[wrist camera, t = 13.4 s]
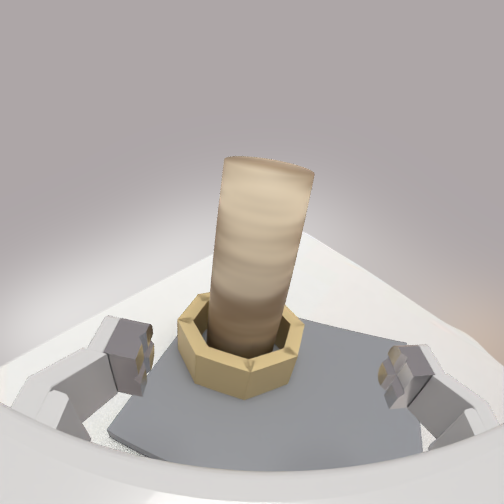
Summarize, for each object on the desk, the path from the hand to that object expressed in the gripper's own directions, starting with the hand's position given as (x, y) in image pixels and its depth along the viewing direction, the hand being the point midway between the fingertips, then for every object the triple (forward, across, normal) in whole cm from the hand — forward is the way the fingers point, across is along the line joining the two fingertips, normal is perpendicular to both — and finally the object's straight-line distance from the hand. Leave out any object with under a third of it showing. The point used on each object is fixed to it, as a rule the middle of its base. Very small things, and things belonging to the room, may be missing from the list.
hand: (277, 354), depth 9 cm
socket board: (+6, +4, -11) cm, 13 cm away
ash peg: (+10, 0, -10) cm, 14 cm away
